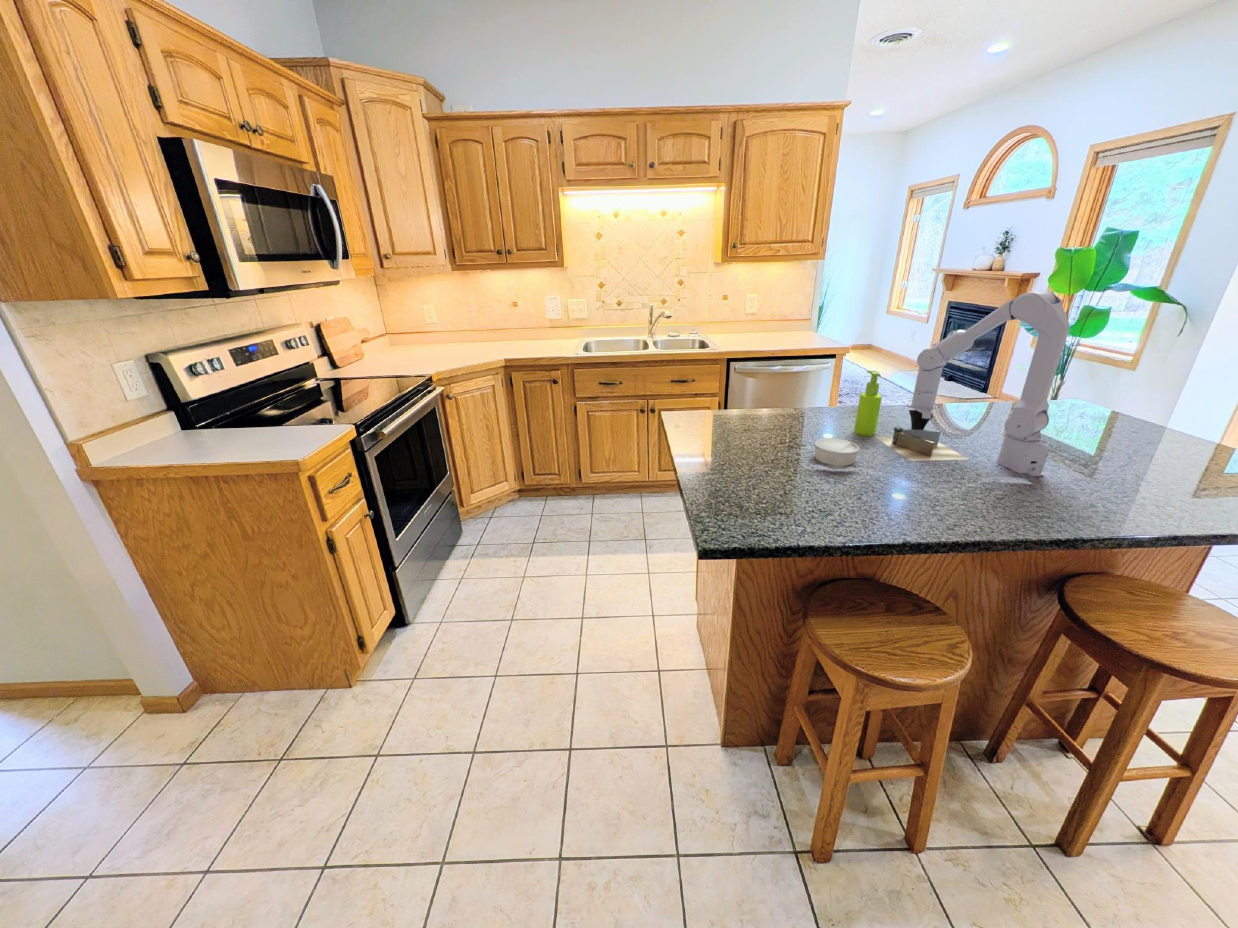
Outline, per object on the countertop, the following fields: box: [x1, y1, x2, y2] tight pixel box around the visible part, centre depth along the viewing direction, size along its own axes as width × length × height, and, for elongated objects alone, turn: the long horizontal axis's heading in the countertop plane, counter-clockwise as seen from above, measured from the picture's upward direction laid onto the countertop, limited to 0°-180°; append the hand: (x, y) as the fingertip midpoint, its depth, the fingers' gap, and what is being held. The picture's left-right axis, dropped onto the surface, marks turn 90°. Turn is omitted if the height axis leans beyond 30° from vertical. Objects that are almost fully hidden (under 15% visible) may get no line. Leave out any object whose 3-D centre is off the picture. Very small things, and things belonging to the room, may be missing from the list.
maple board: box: [874, 436, 970, 462], centre depth 142 cm, size 19×16×1 cm
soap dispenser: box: [853, 370, 883, 436], centre depth 151 cm, size 6×7×20 cm
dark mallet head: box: [892, 426, 935, 457], centre depth 140 cm, size 12×2×5 cm, turn 27°
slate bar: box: [901, 428, 941, 445], centre depth 143 cm, size 10×1×4 cm, turn 77°
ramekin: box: [813, 437, 860, 470], centre depth 135 cm, size 11×11×5 cm
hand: (915, 435), depth 148 cm, fingers closed
